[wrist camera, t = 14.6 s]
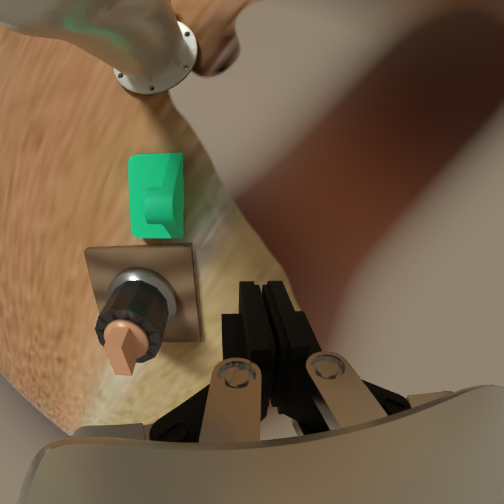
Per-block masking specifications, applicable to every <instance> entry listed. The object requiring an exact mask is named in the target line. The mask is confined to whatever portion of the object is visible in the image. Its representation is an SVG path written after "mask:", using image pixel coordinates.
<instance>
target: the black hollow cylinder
mask: <svg viewBox="0 0 504 504" xmlns="http://www.w3.org/2000/svg"><path fill="white" fill-rule="evenodd" d="M177 305H178V302H177V296H176V293H175V291H174V289H173V287H172V285H171V284H170V283H169V282H168V280H167V279H165V278H164V277H163V276H162V275H160V274H159V273H157V272H155V271H153V270H151V269H148V268H143V267H131V268H127V269H125V270H123V271H121V272H119V273H118V274H117V275H116V276H115V277H114V279H113V280H112V281H111V283H110V285H109V286H108V288H107V291H106V305H105V306H104V308H103V310H102V311H101V313H100V315H99V316H98V320H97V324H96V327H95V331H96V333H97V336H98V339H99V342H100V344H101V345H102V346H103V347H104V344H105V339H104V331H105V329H106V327H107V325H108V324H109V323H110V322H111V321H113V320H117V319H125V320H129V321H132V322H134V323H136V324H137V325H139V326H140V327H141V328H142V329H143V330H144V331H145V332H146V334H147V336H148V339H149V346H148V350H147V352H146V353H145V355H143V356H142V357H140V358H137V360H136V362H138V363H143V362H146V361H148V360H150V359H152V358H154V357H156V355H157V353H158V351H159V349H160V347H161V344H162V339H163V335H164V331H166V330H167V329H168V328H169V327H170V326H171V325H172V323H173V322H174V319H175V316H176V311H177Z"/></svg>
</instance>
